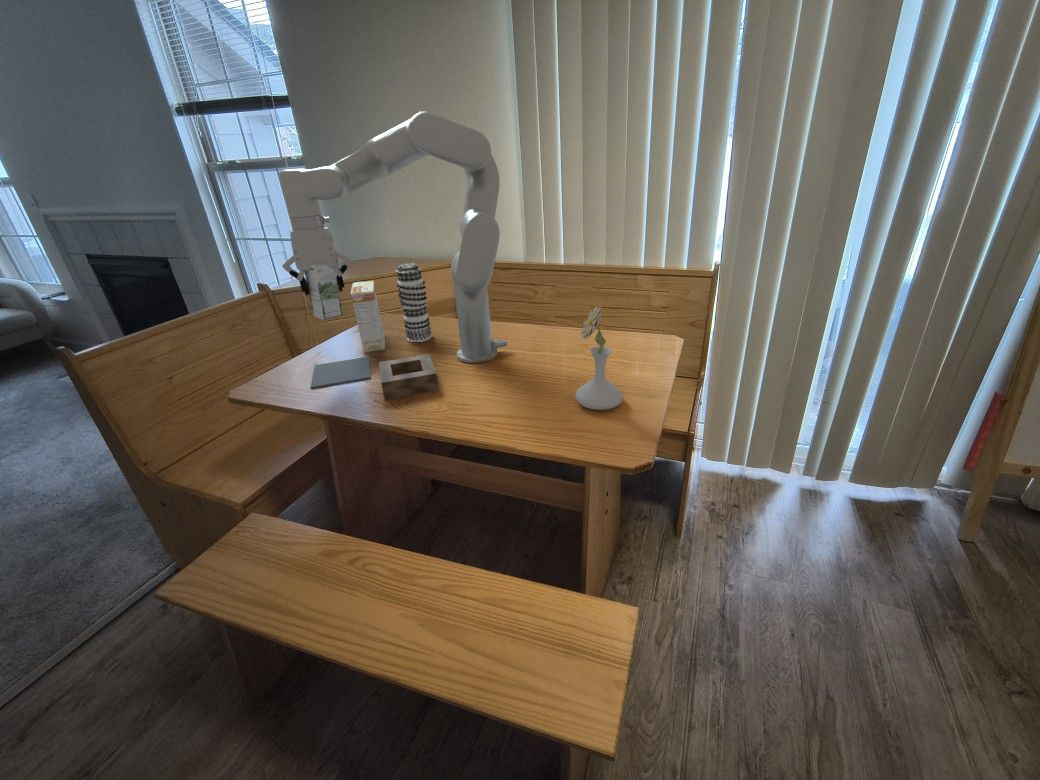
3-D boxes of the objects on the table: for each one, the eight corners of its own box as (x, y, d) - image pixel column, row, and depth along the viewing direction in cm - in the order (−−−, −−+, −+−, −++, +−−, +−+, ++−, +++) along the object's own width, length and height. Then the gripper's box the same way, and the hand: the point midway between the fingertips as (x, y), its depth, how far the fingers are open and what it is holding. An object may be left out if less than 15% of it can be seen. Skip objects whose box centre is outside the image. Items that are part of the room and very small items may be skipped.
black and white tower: (434, 341, 152) (423, 266, 140) (406, 344, 150) (392, 269, 139) (432, 332, 160) (422, 260, 148) (405, 335, 158) (393, 263, 146)
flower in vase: (581, 389, 116) (583, 293, 104) (626, 395, 112) (633, 296, 101) (567, 414, 105) (568, 310, 94) (616, 421, 101) (623, 314, 90)
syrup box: (332, 312, 127) (322, 259, 121) (344, 316, 124) (334, 262, 117) (313, 316, 123) (302, 262, 117) (324, 320, 120) (313, 265, 113)
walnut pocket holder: (431, 369, 131) (429, 354, 129) (439, 390, 119) (436, 373, 117) (382, 378, 127) (378, 362, 125) (384, 400, 116) (381, 382, 113)
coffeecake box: (364, 337, 158) (352, 282, 149) (385, 334, 160) (374, 280, 151) (362, 352, 146) (349, 293, 136) (385, 349, 147) (373, 290, 138)
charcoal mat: (369, 358, 141) (369, 356, 141) (371, 378, 128) (370, 376, 127) (315, 366, 137) (314, 365, 137) (310, 389, 123) (310, 387, 123)
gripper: (344, 219, 118) (358, 285, 126) (271, 224, 114) (291, 293, 122) (343, 222, 112) (358, 291, 120) (267, 228, 107) (287, 300, 115)
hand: (324, 292), depth 121 cm, fingers closed on syrup box, 8 cm apart
